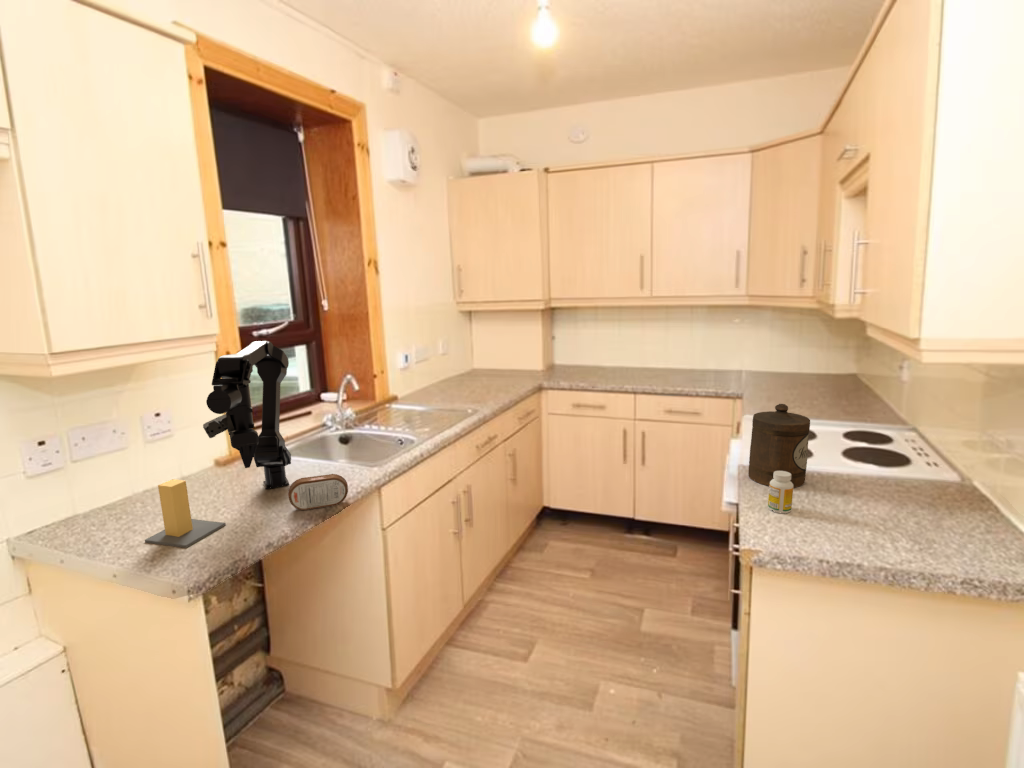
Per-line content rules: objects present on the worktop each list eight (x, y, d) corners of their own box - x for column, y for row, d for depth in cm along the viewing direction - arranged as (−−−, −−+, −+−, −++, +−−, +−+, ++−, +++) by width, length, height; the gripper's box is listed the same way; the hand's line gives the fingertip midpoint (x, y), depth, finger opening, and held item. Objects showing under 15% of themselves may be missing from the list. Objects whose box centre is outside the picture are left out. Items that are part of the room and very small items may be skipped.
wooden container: (810, 490, 152) (817, 411, 148) (751, 486, 156) (756, 409, 152) (799, 471, 166) (805, 399, 162) (745, 468, 170) (749, 397, 166)
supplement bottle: (768, 512, 139) (771, 476, 137) (766, 504, 144) (769, 468, 142) (792, 515, 137) (795, 478, 136) (790, 506, 142) (792, 470, 140)
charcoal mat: (144, 542, 132) (144, 539, 132) (186, 520, 143) (186, 518, 143) (186, 547, 128) (185, 545, 128) (225, 525, 140) (225, 522, 140)
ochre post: (180, 527, 138) (172, 479, 135) (192, 529, 136) (185, 480, 134) (165, 534, 134) (157, 485, 131) (178, 536, 133) (171, 486, 130)
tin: (348, 500, 154) (346, 470, 152) (349, 504, 151) (347, 474, 149) (289, 509, 148) (286, 479, 147) (289, 514, 146) (286, 483, 144)
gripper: (202, 401, 147) (210, 458, 150) (203, 416, 131) (212, 479, 134) (248, 396, 153) (255, 451, 156) (255, 409, 137) (262, 470, 140)
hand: (245, 462), depth 146 cm, fingers open, 9 cm apart
